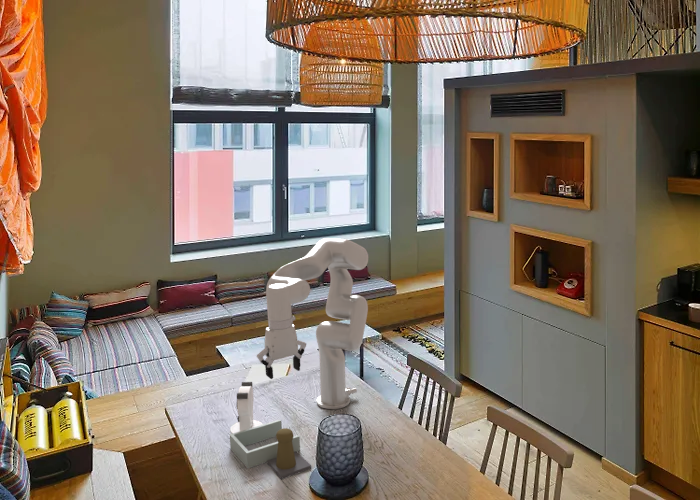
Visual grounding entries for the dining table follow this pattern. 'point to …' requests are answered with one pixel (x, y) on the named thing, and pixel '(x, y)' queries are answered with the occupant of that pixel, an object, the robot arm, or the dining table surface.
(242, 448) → the box
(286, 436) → the cork
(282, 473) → the charcoal mat
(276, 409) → the dining table surface
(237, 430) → the white upright piece
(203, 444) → the dining table surface
